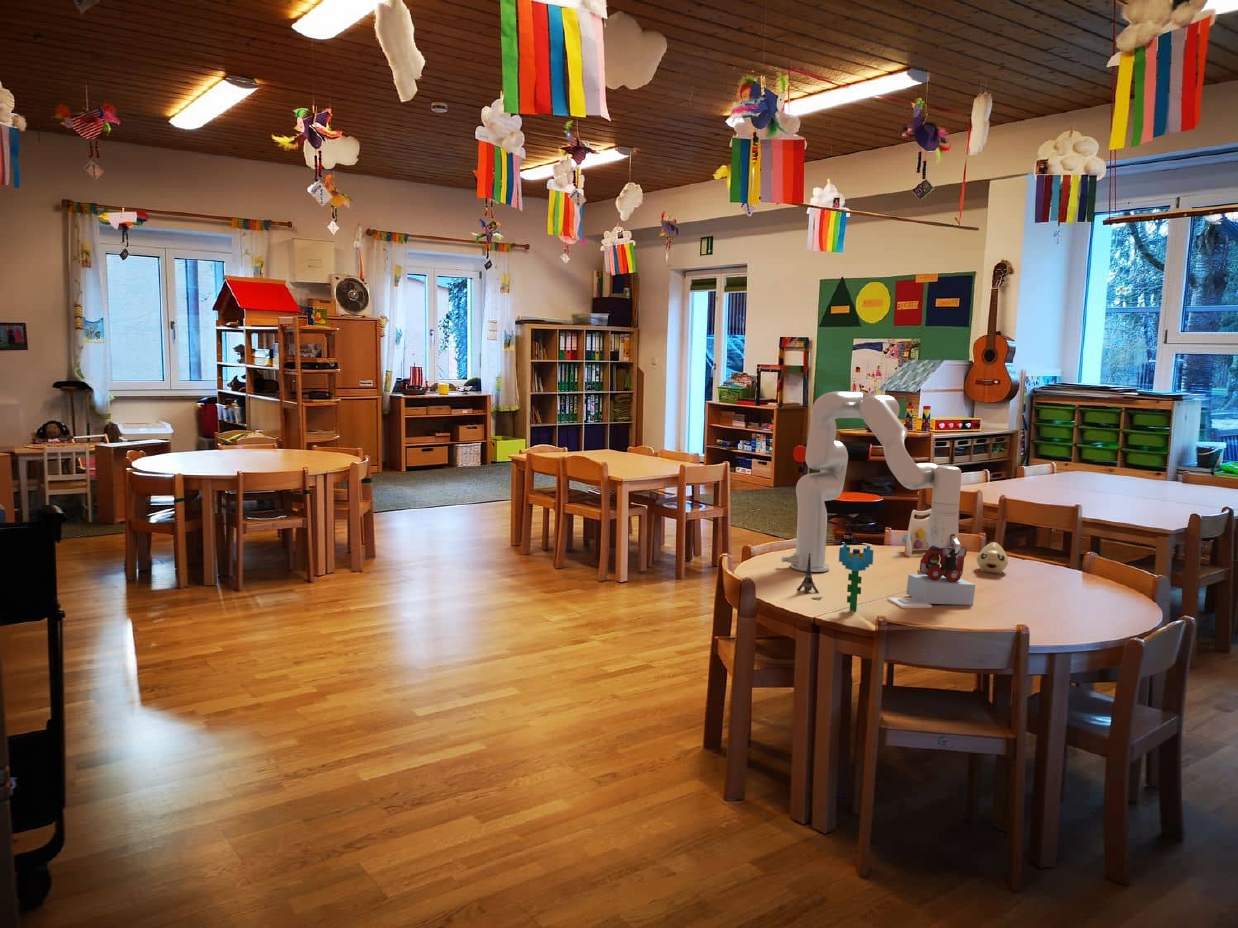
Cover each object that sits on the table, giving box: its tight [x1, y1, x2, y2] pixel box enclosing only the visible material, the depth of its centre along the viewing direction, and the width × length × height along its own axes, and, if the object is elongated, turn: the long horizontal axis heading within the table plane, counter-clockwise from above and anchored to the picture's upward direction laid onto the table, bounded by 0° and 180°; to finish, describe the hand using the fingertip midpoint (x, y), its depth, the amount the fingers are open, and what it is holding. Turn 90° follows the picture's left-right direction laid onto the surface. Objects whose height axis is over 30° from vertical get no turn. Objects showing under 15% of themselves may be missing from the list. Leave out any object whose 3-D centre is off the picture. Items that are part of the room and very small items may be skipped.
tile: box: [887, 597, 933, 609], centre depth 253 cm, size 9×9×1 cm
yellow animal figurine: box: [976, 541, 1009, 574], centre depth 295 cm, size 10×12×11 cm
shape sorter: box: [901, 508, 940, 558], centre depth 320 cm, size 20×10×18 cm, turn 112°
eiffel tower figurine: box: [796, 553, 823, 601], centre depth 263 cm, size 15×10×13 cm
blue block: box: [906, 573, 976, 606], centre depth 258 cm, size 15×11×6 cm
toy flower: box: [838, 543, 874, 612], centre depth 244 cm, size 9×9×18 cm
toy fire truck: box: [919, 545, 968, 582], centre depth 257 cm, size 7×12×10 cm, turn 81°
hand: (941, 566), depth 257 cm, fingers open, 9 cm apart
